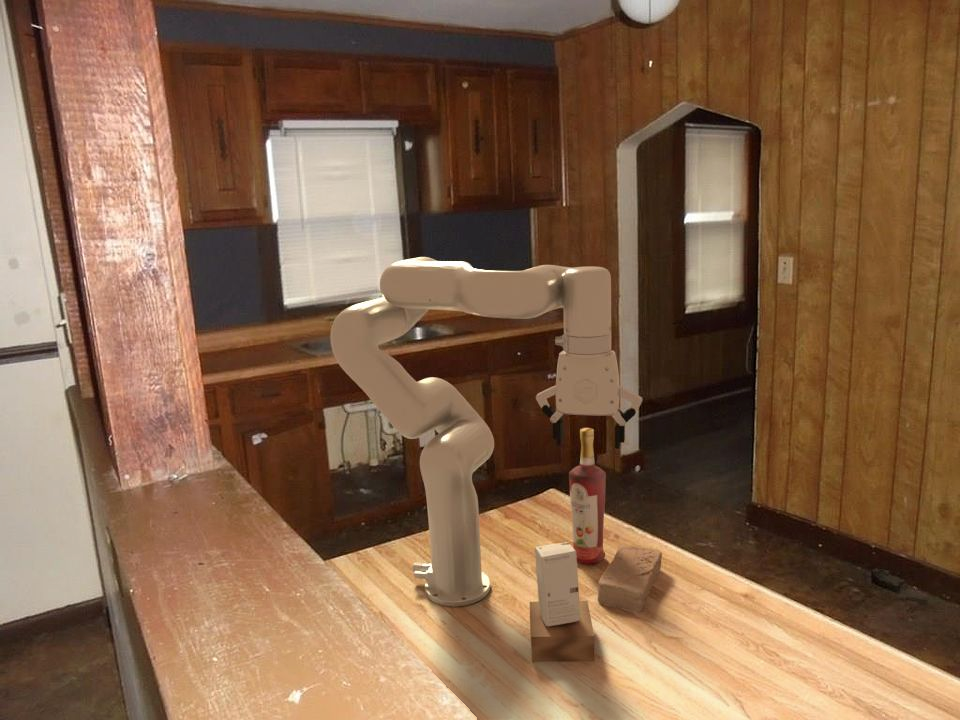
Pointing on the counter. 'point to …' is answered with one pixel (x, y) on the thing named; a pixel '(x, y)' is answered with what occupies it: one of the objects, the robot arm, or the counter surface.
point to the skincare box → (557, 583)
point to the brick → (629, 577)
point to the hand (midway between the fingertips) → (588, 444)
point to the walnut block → (562, 638)
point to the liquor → (587, 503)
